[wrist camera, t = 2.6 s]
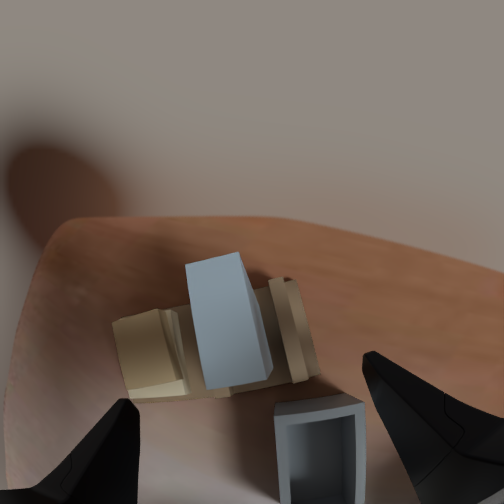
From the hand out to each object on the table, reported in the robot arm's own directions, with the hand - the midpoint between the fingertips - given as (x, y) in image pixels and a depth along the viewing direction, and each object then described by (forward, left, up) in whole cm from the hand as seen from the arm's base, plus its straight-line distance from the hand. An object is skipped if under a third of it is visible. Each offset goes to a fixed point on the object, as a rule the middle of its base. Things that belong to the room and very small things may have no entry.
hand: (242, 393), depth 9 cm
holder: (0, -7, -10) cm, 12 cm away
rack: (-2, +3, -10) cm, 10 cm away
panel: (+1, +3, -9) cm, 9 cm away
